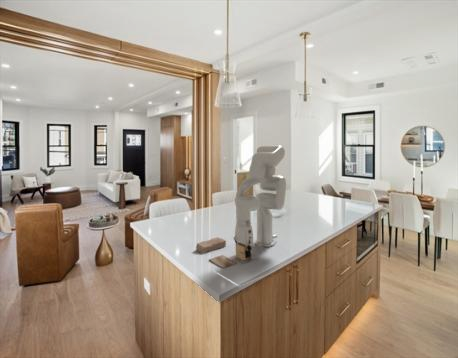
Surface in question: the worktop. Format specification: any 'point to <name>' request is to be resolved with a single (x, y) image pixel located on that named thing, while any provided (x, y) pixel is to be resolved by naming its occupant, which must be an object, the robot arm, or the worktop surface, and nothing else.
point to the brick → (210, 245)
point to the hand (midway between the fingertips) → (243, 255)
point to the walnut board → (222, 261)
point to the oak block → (241, 252)
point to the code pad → (242, 260)
